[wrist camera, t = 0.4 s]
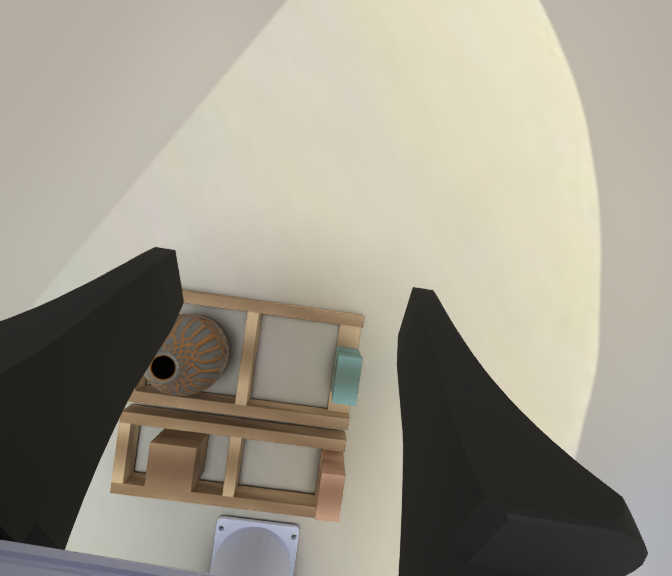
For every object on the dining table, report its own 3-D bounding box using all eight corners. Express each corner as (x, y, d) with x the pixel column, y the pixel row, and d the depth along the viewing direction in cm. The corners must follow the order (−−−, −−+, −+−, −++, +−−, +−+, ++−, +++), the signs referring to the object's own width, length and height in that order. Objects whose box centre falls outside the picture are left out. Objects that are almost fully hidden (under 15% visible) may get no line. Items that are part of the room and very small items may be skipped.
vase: (148, 339, 38) (95, 359, 29) (206, 296, 38) (170, 302, 29) (193, 396, 38) (154, 432, 29) (250, 353, 38) (228, 376, 29)
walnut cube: (204, 470, 38) (190, 493, 34) (163, 465, 38) (144, 487, 34) (209, 430, 38) (196, 448, 34) (168, 424, 38) (150, 442, 34)
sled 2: (334, 507, 38) (335, 542, 33) (121, 481, 37) (90, 512, 32) (344, 432, 38) (348, 455, 33) (131, 404, 37) (101, 424, 32)
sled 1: (346, 421, 38) (350, 444, 33) (133, 393, 37) (103, 412, 32) (362, 314, 38) (368, 320, 33) (147, 284, 37) (119, 285, 32)
